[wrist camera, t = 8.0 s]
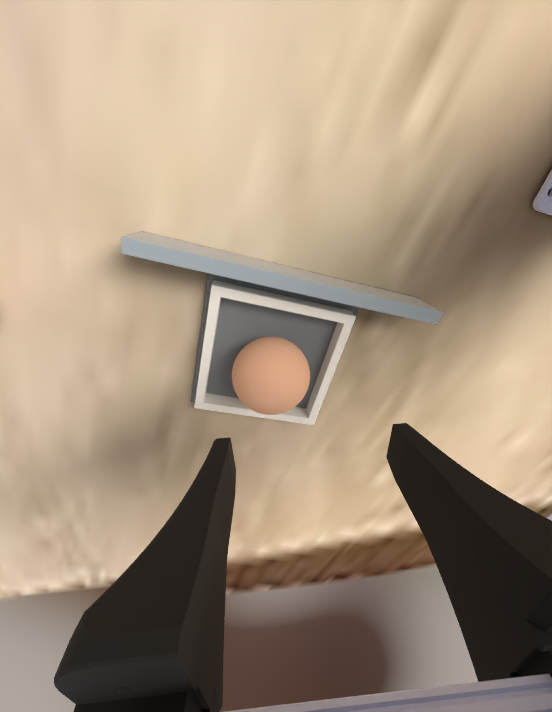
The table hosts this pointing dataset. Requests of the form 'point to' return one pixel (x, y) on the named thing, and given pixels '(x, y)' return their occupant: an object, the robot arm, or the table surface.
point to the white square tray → (266, 319)
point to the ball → (270, 375)
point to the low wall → (275, 276)
